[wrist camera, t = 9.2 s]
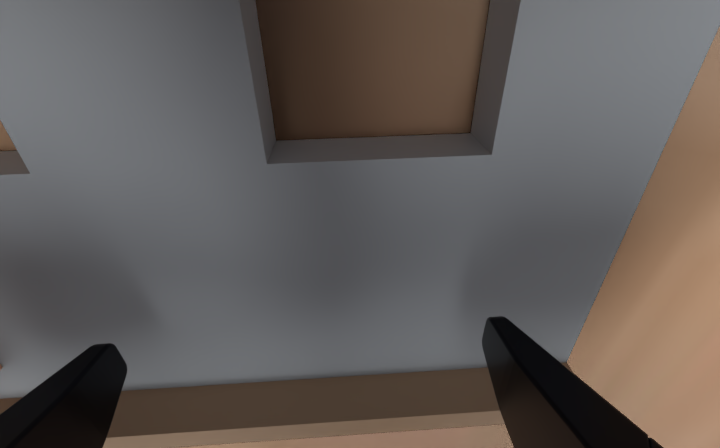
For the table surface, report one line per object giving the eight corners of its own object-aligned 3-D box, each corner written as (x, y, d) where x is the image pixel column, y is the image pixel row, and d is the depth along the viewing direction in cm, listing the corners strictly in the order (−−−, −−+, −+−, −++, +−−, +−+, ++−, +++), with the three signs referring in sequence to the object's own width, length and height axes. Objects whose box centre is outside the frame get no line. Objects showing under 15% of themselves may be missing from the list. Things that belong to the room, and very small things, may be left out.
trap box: (539, 342, 14) (584, 418, 12) (-163, 385, 13) (-283, 479, 11) (704, -99, 7) (910, -151, 5) (-781, -80, 6) (-1583, -133, 4)
